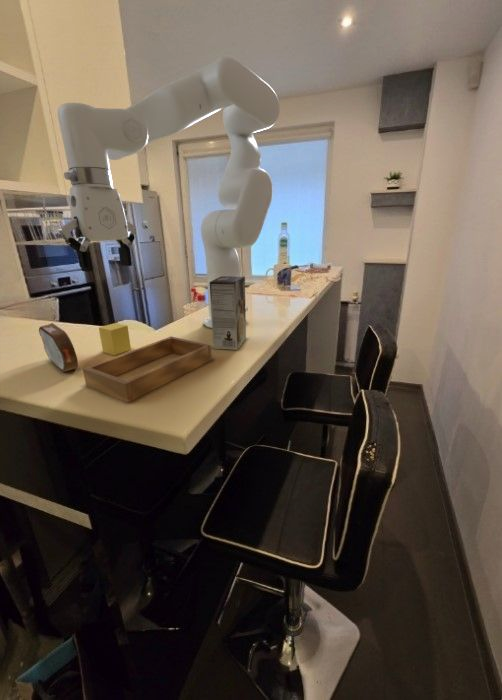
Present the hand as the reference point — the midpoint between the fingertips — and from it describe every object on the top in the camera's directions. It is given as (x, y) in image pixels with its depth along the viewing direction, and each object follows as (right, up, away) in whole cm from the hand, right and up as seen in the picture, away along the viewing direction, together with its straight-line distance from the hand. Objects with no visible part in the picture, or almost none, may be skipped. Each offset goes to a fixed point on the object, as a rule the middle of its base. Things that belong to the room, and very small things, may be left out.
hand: (108, 268), depth 71 cm
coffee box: (+26, -16, +10) cm, 33 cm away
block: (-1, -18, +6) cm, 19 cm away
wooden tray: (+12, -22, -5) cm, 26 cm away
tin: (-9, -21, -2) cm, 23 cm away
